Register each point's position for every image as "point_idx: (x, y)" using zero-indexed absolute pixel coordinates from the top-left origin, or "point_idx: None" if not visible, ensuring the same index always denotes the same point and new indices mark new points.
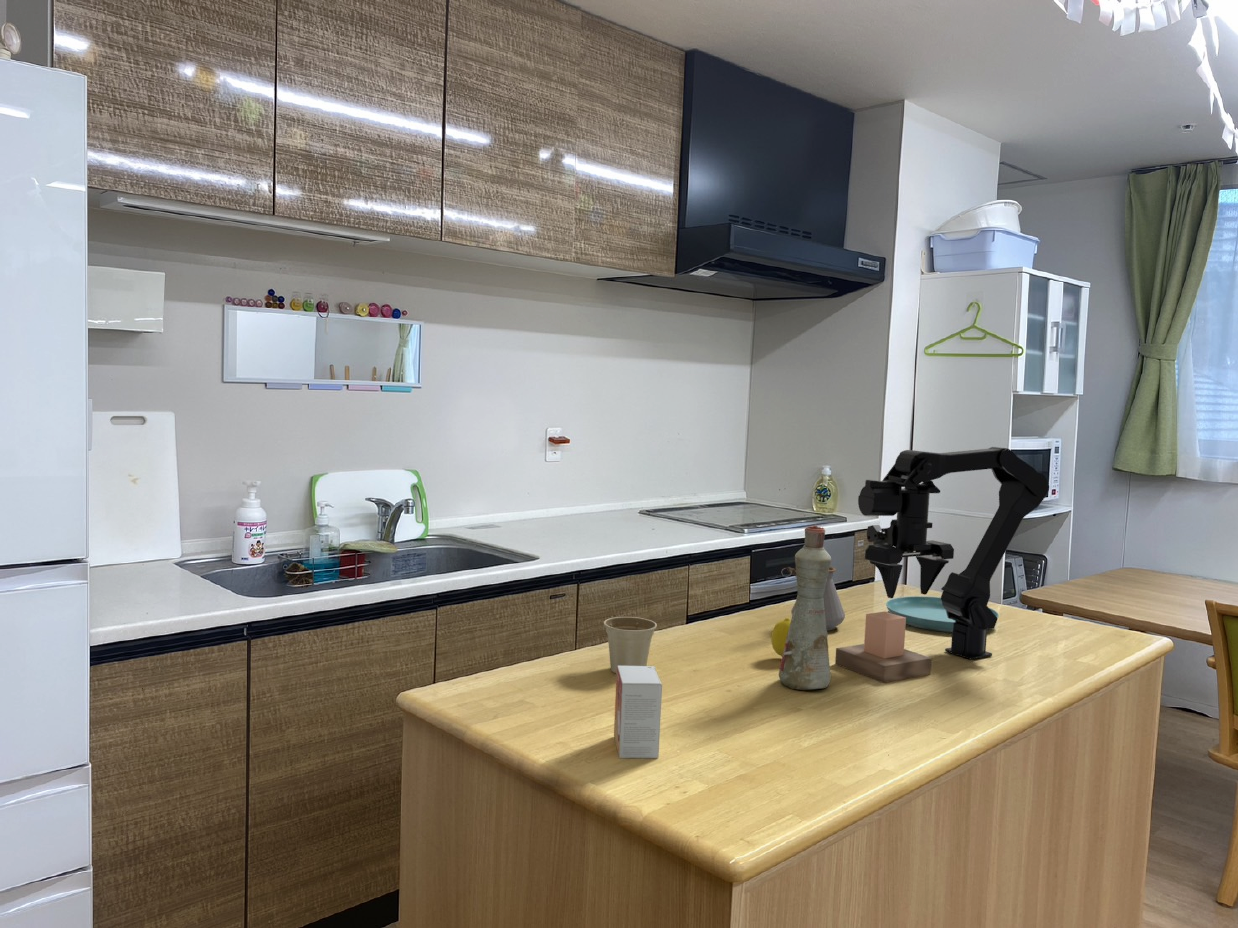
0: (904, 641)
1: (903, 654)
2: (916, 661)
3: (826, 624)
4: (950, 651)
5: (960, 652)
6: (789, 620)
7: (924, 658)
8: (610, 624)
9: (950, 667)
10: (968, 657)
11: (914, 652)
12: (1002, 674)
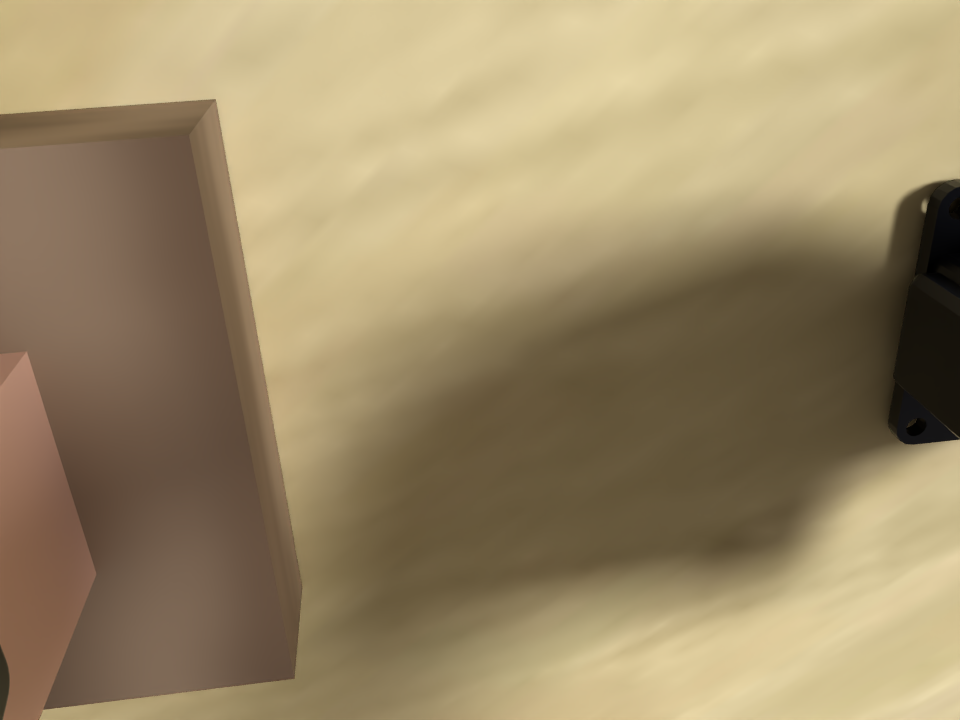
0: (57, 670)
1: (92, 578)
2: (111, 695)
3: None
4: (923, 255)
5: (898, 377)
6: None
7: (224, 673)
8: None
9: (580, 510)
10: (893, 418)
11: (262, 538)
12: (769, 686)
